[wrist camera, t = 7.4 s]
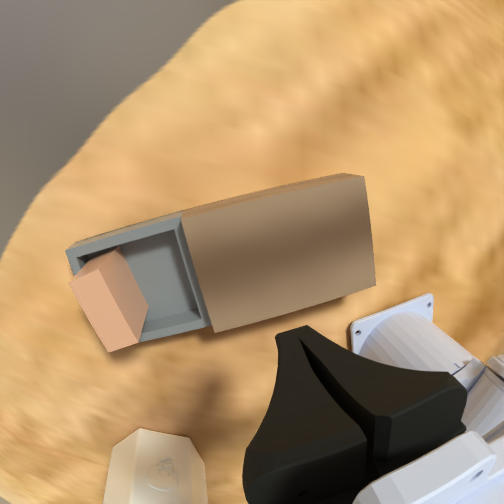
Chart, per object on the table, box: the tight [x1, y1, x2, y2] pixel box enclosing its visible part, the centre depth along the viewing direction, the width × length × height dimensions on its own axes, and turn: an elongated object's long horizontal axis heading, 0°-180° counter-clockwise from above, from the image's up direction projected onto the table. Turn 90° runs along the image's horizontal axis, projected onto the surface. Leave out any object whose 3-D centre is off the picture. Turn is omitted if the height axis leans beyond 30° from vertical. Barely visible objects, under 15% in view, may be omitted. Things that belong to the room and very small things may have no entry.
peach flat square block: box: [68, 245, 149, 353], centre depth 18 cm, size 4×4×2 cm
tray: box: [65, 211, 212, 343], centre depth 19 cm, size 7×8×2 cm
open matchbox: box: [181, 173, 376, 333], centre depth 20 cm, size 7×10×3 cm, turn 102°
